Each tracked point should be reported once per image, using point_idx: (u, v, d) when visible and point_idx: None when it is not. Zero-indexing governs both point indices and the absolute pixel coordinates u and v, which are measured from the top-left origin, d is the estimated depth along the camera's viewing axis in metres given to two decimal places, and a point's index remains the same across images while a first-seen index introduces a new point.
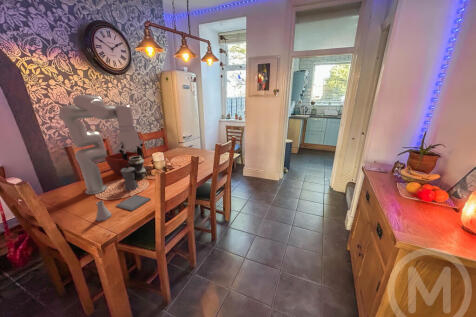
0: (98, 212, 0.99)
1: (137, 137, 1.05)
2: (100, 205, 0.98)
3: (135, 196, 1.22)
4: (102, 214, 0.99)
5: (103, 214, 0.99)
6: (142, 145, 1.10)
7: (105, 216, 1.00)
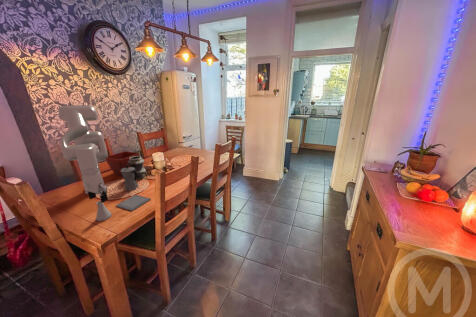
0: (98, 212, 0.99)
1: None
2: (100, 205, 0.98)
3: (135, 196, 1.22)
4: (102, 214, 0.99)
5: (103, 214, 0.99)
6: None
7: (105, 216, 1.00)
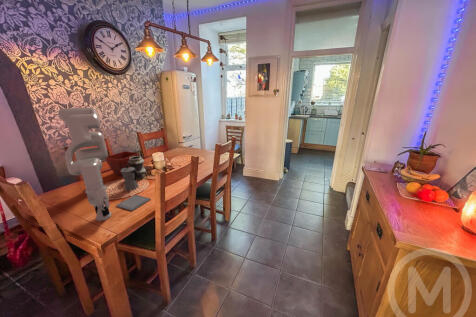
0: (98, 212, 0.99)
1: None
2: None
3: (135, 196, 1.22)
4: (102, 214, 0.99)
5: None
6: None
7: (105, 216, 1.00)
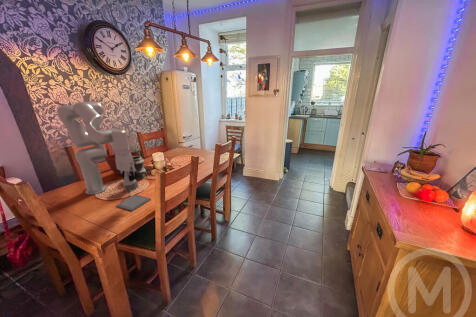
0: (125, 177, 1.08)
1: None
2: None
3: (135, 196, 1.22)
4: (128, 179, 1.08)
5: None
6: None
7: (131, 181, 1.09)
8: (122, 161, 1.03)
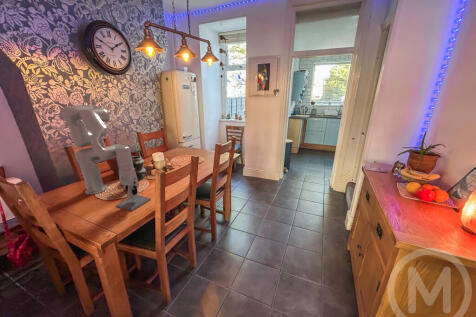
0: (128, 191, 1.11)
1: None
2: None
3: None
4: None
5: None
6: None
7: (134, 195, 1.12)
8: (125, 176, 1.06)
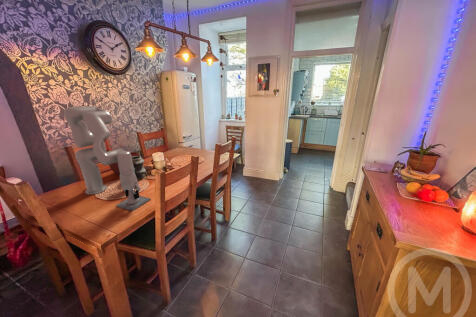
0: (129, 196, 1.12)
1: None
2: None
3: None
4: (132, 198, 1.13)
5: None
6: None
7: (135, 200, 1.13)
8: (126, 181, 1.07)
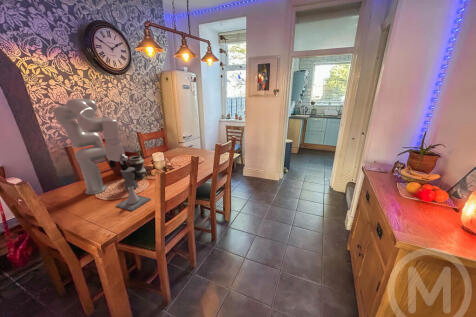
0: (129, 196, 1.12)
1: None
2: (131, 190, 1.12)
3: None
4: (132, 198, 1.13)
5: (134, 198, 1.13)
6: None
7: (135, 200, 1.13)
8: (112, 151, 1.02)
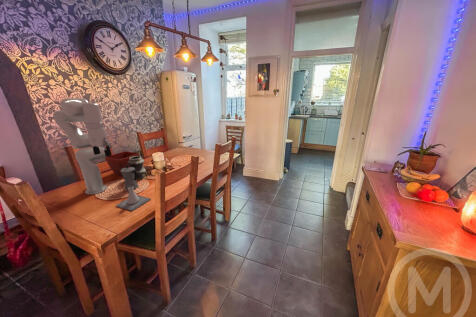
0: (129, 196, 1.12)
1: None
2: (131, 190, 1.12)
3: None
4: (132, 198, 1.13)
5: (134, 198, 1.13)
6: None
7: (135, 200, 1.13)
8: (94, 135, 0.99)
